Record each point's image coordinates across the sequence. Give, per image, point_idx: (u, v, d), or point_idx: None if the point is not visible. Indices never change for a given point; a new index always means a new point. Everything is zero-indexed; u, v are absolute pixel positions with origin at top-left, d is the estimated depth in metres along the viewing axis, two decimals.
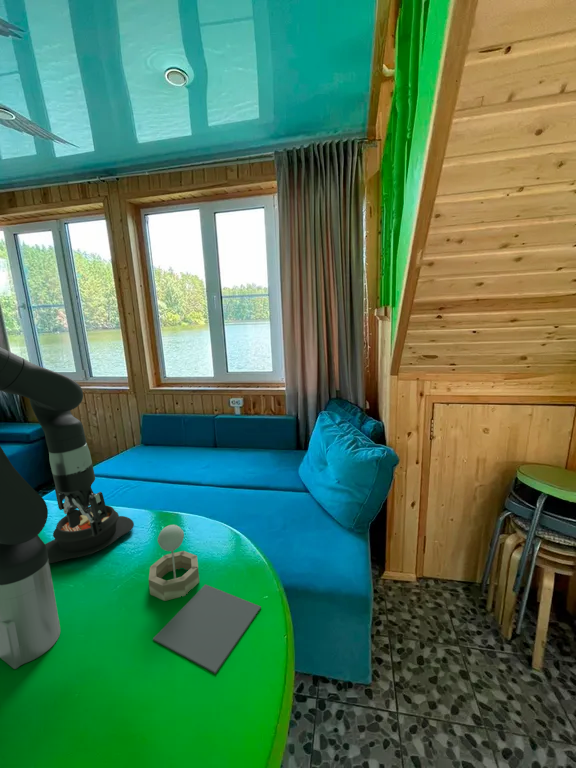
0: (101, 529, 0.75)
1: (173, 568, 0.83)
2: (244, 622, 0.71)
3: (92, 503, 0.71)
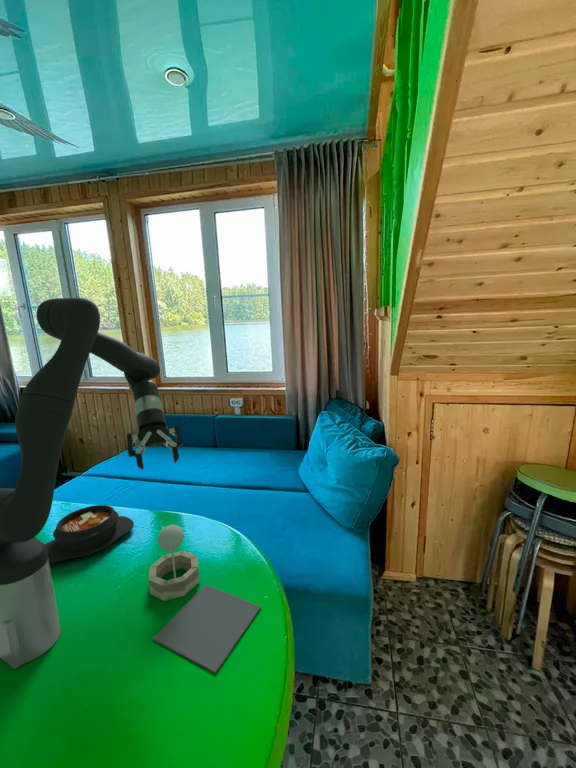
0: None
1: (173, 568, 0.83)
2: (244, 622, 0.71)
3: (178, 429, 0.96)
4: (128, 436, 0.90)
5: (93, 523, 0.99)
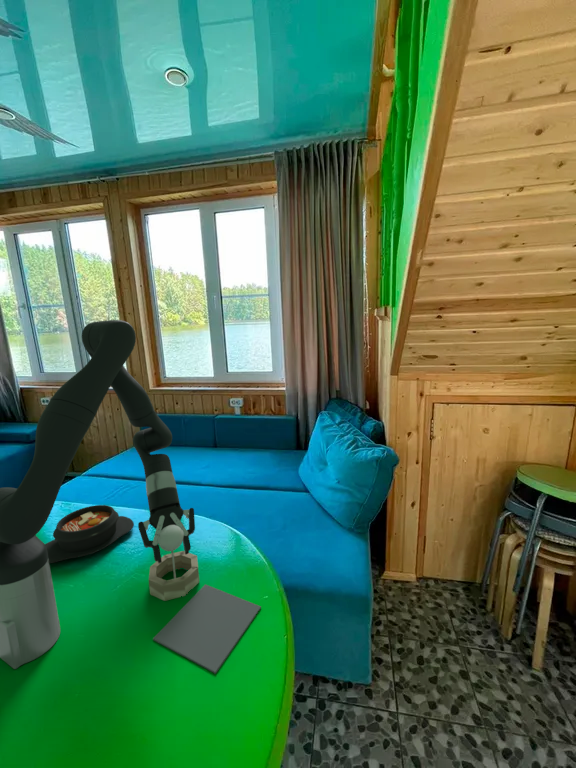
0: None
1: (173, 568, 0.83)
2: (244, 622, 0.71)
3: (192, 512, 0.87)
4: (140, 525, 0.82)
5: (93, 523, 0.99)
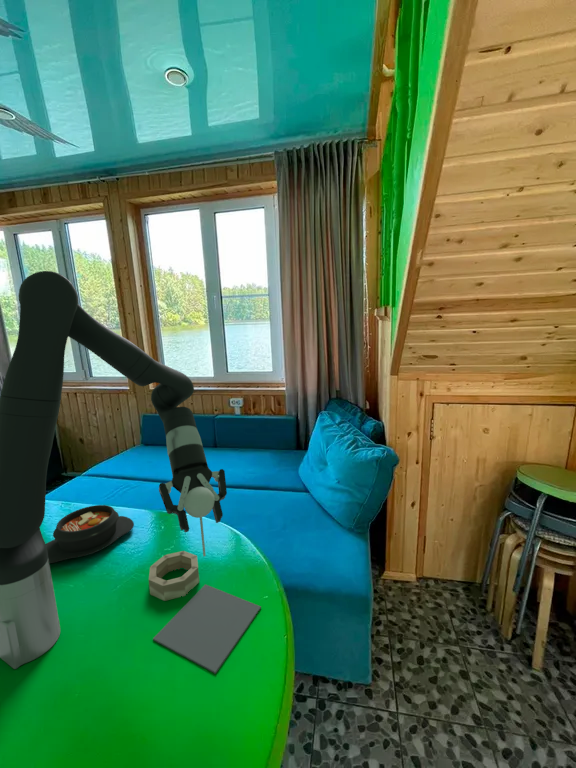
0: None
1: (202, 539, 0.68)
2: (244, 622, 0.71)
3: (223, 474, 0.72)
4: (161, 487, 0.67)
5: (93, 523, 0.99)
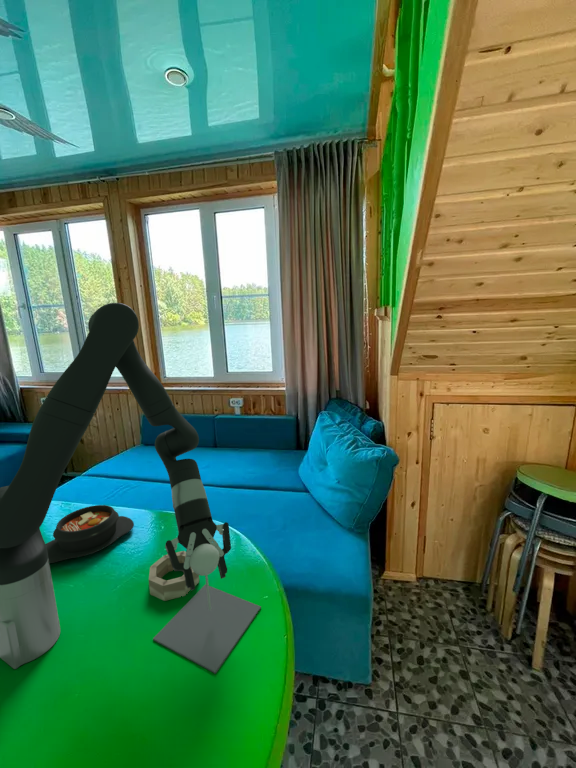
0: None
1: (207, 594, 0.70)
2: (244, 622, 0.71)
3: (227, 528, 0.75)
4: (168, 545, 0.69)
5: (93, 523, 0.99)
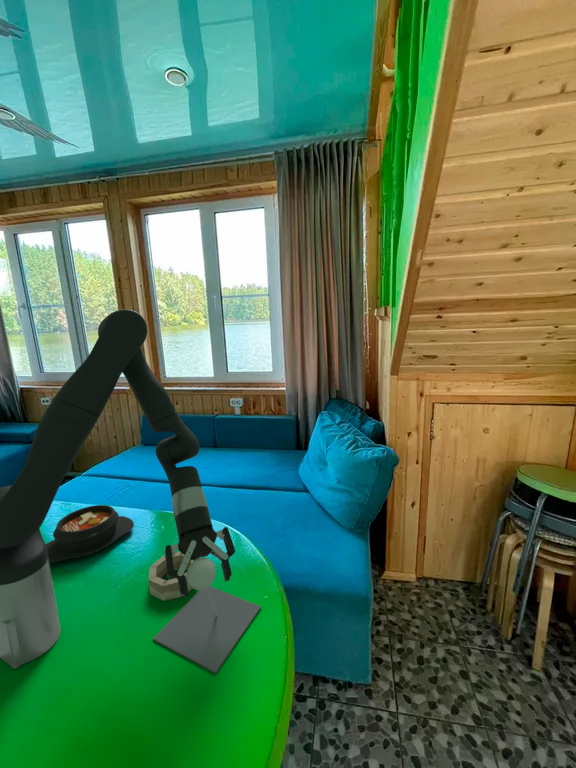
0: None
1: (211, 604, 0.71)
2: (244, 622, 0.71)
3: (227, 532, 0.75)
4: (167, 549, 0.69)
5: (93, 523, 0.99)
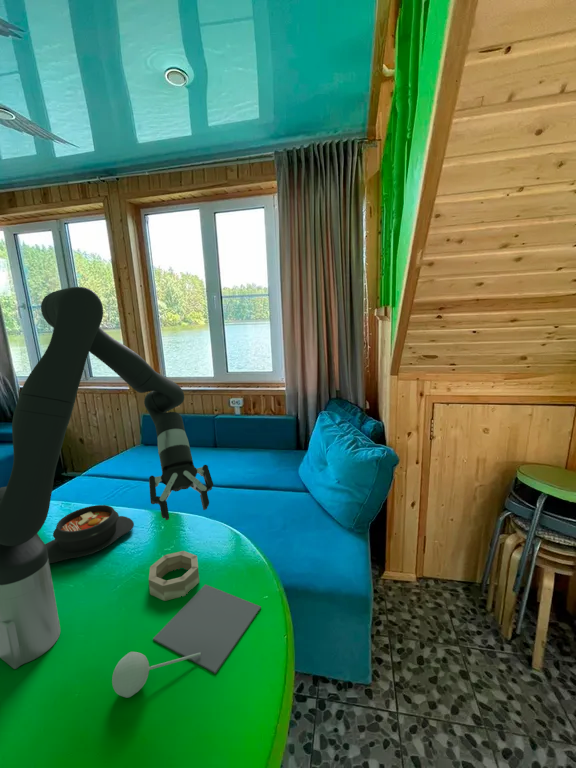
0: None
1: None
2: (244, 622, 0.71)
3: (207, 469, 0.83)
4: (151, 479, 0.77)
5: (93, 523, 0.99)
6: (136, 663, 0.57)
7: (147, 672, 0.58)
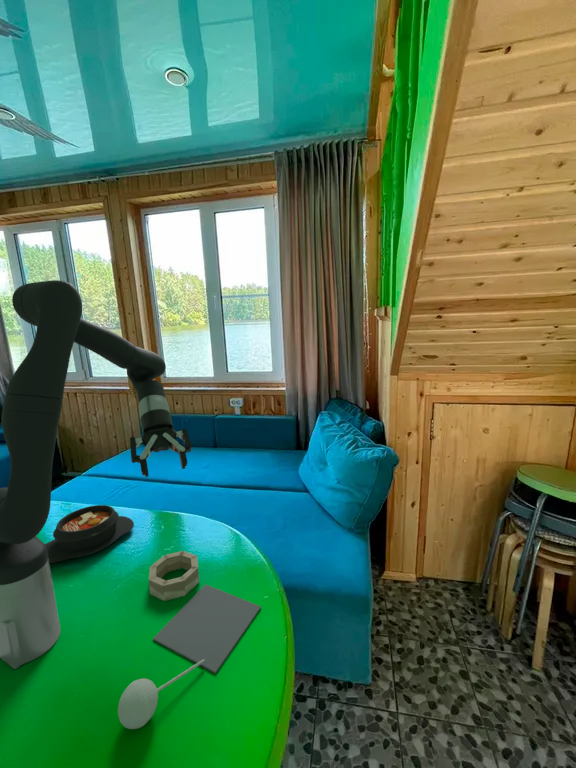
0: (186, 462, 0.84)
1: None
2: (244, 622, 0.71)
3: (186, 432, 0.87)
4: (131, 440, 0.81)
5: (93, 523, 0.99)
6: (147, 721, 0.52)
7: None
